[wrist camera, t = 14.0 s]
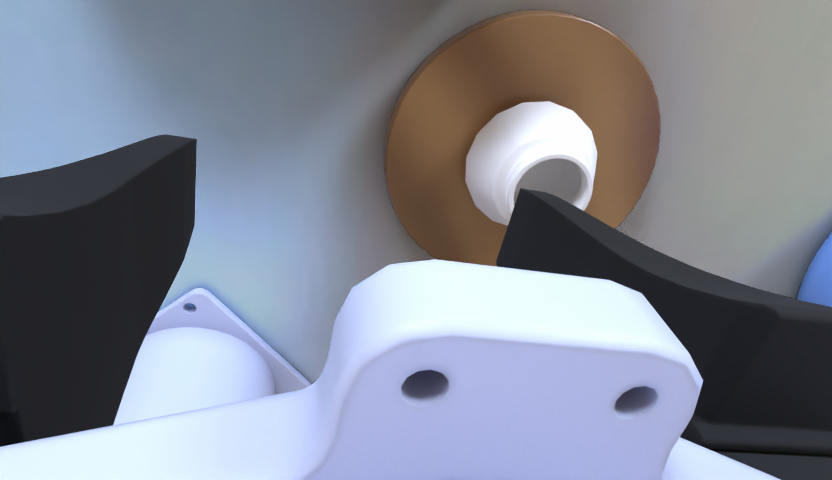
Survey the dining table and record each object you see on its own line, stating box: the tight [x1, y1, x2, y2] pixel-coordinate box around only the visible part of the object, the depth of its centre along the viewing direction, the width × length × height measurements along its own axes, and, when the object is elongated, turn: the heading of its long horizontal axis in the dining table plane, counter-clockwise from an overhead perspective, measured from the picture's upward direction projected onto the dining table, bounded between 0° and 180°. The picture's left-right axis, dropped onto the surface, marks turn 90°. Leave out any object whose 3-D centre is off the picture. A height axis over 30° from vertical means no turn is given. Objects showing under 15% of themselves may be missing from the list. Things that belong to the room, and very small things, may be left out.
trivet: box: [384, 10, 660, 267], centre depth 22 cm, size 11×11×1 cm
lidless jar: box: [465, 101, 597, 226], centre depth 21 cm, size 5×3×5 cm
